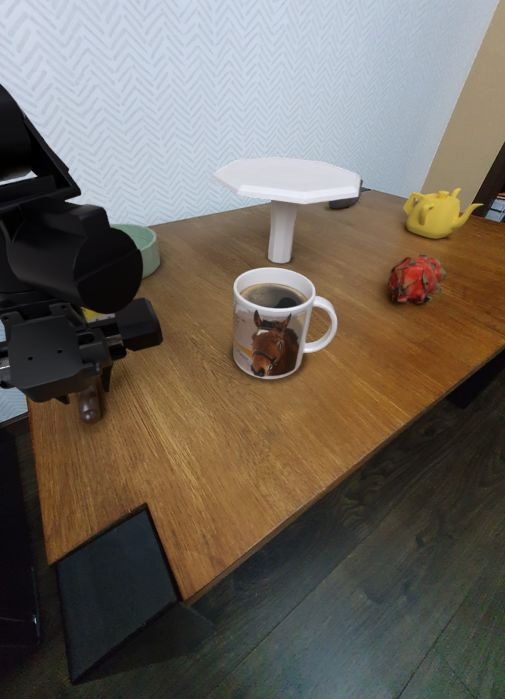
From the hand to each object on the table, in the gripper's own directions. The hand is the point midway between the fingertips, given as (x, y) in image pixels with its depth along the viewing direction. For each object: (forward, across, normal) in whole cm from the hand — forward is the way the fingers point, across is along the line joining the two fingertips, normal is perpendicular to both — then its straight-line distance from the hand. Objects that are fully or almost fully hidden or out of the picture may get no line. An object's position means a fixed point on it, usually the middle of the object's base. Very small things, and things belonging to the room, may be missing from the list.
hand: (87, 395), depth 36 cm
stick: (+1, 0, 0) cm, 1 cm away
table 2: (+1, +40, +25) cm, 47 cm away
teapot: (+1, +86, +24) cm, 89 cm away
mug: (+1, +24, -2) cm, 24 cm away
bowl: (+1, +8, +34) cm, 35 cm away
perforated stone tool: (+1, +76, +49) cm, 90 cm away
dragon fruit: (+1, +54, +2) cm, 54 cm away
